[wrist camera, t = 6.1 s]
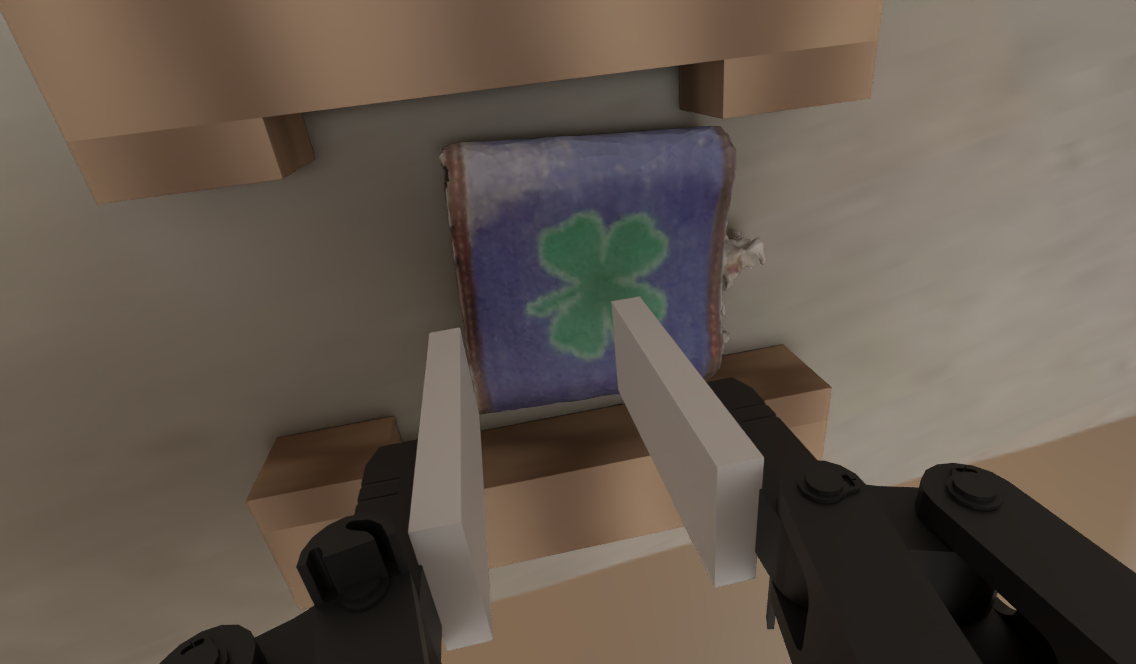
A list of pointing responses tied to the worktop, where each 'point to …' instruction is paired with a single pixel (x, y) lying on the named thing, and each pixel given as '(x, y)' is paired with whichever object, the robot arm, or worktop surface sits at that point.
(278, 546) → the holder
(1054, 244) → the worktop surface
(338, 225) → the worktop surface
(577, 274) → the flask
